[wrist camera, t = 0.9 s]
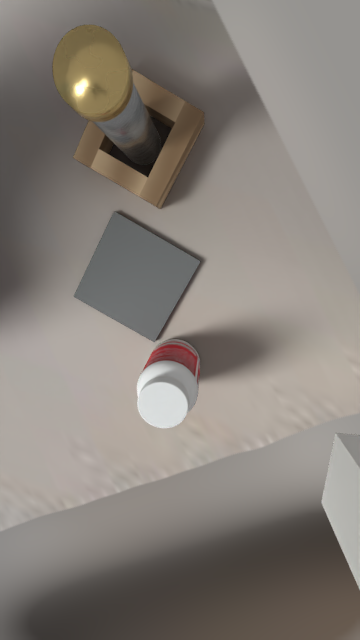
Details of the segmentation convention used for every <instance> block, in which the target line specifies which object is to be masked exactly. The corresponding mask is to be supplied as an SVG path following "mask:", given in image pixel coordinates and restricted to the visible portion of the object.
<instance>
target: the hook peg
mask: <svg viewBox="0 0 360 640" xmlns="http://www.w3.org/2000/svg"><path fill="white" fill-rule="evenodd" d="M52 67H53V78H54V82H55V85H56V88H57V90H58V92H59V94H60V95H61V97H62V98H63V99H64V100H65V102H66V103H67V104H68V105H70V106H71V107H72V108H73V109H74V110H75V111H76V112H77V113H78V114H79V115H80V116H82V117H83V118H85V119H87V120H90V121H92V122H93V123H94V124H95V125H96V126H97V127H98V128H99V129H100V130H101V131H102V132H103V133H104V134H105V135H106V136H107V137H108V138H109V139H110V140H111V141H112V142H113V143H114V144H115V145H116V146H117V147H118V148H119V149H120V150H121V151H122V152H123V153H124V154H125V155H126V156H127V157H128V158H129V159H130V160H131V161H133V162H134V163H136V164H139V165H147V164H150V163H151V162H153V161H154V160H155V159H156V158H157V157H158V155H159V153H160V150H161V139H160V136H159V134H158V132H157V129H156V127H155V125H154V123H153V121H152V119H151V117H150V115H149V113H148V111H147V109H146V107H145V105H144V103H143V101H142V99H141V97H140V95H139V93H138V91H137V89H136V87H135V85H134V83H133V74H132V70H131V67H130V64H129V62H128V60H127V58H126V55H125V53H124V51H123V49H122V47H121V45H120V43H119V42H118V40H117V39H116V38H115V37H114V36H113V35H112V34H111V33H110V32H109V31H107V30H106V29H104V28H102V27H99V26H96V25H82V26H78V27H76V28H74V29H72V30H71V31H69V32H68V33H67V34H66V35H65V36H64V37H63V38H62V39H61V41H60V42H59V44H58V46H57V48H56V50H55V54H54V58H53V66H52Z"/></svg>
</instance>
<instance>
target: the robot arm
mask: <svg viewBox="0 0 360 640" xmlns="http://www.w3.org/2000/svg"><path fill="white" fill-rule="evenodd" d="M322 505H323V507H324V510H325V511H326V514H327V516H328V519H329V521H330V523H331V525H332V528H333V530H334V532H335V535H336V537H337V539H338V541H339V543H340V546H341V548H342V550H343V553H344V555H345V557H346V560H347V561H348V564H349V566H350V569H351V571H352V573H353V575H354V578H355V580H356V582H357V584H358V587H359V589H360V435H353V434H343V433H336V434H335V439H334V443H333V448H332V453H331V458H330V463H329V468H328V473H327V478H326V482H325V487H324V492H323V498H322Z"/></svg>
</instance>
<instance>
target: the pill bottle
mask: <svg viewBox="0 0 360 640" xmlns="http://www.w3.org/2000/svg"><path fill="white" fill-rule="evenodd" d="M199 375H200V359H199V355H198V353H197V351H196V350H195V349H194V347H193V346H191V345H190V344H189V343H187V342H185V341H183V340H178V339H170V340H166V341H164V342H162V343H160V344H159V345H158V346H157V347H156V348H155V349H154V350H153V352H152V354H151V356H150V358H149V360H148V361H147V363H146V365H145V367H144V369H143V371H142V373H141V375H140V377H139V380H138V383H137V394H138V403H137V405H138V410H139V413H140V415H141V416H142V418H143V419H144V420H145V421H146V422H148V423H149V424H151V425H153V426H155V427H158V428H171V427H174V426H176V425H178V424H179V423H181V422H182V421H183V420H184V418H185V417H186V415H187V413H188V412H189V411H190V410H191V409H192V408H193V406H194V405H195V402H196V400H197V396H198V387H199Z"/></svg>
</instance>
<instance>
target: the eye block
mask: <svg viewBox="0 0 360 640" xmlns="http://www.w3.org/2000/svg"><path fill="white" fill-rule="evenodd" d="M131 70H132V74H133V83H134V85H135V87H136V89H137V91H138V93H139V95H140V97H141V99H142V101H143V103H144V105H145V107H146V109H147V111H148V113H149V115H150V116H152V117H153V118H155V119H157V120H158V121H160V122H162V123H163V124H165V125H167V126H168V127H170V128H172V130H171V132H170V134H169V136H168V138H167V140H166V142H165V144H164V146H163V148H162V150H161V152H160V154H159V156H158V158H157V160H156V162H155V164H154V166H153V168H152V170H151V172H150V174H149V177H146V176H144V175H143V174H141V173H139V172H138V171H136V170H134V169H133V168H131V167H129V166H127V165H126V164H124V163H122V162H121V161H119V160H117V159H115V158H114V157H112V156H110V155H109V153H110V151H111V149H112V147H113V144H114V143H113V142H112V141H111V140H110V139H109V138H108V137H107V136H106V135H105V134H104V133H103V132H102V131H101V130H100V129H99V128H98V127H97V126H96V125H95V124H94V123H93V122H92V121H90V120H89V121H88V123H87V126H86V128H85V130H84V133H83V135H82V137H81V140H80V142H79V145H78V147H77V149H76V152H75V154H74V156H73V158H74V159H76V160H77V161H79V162H81V163H82V164H84V165H86V166H88V167H89V168H91V169H93V170H94V171H96V172H98V173H100V174H101V175H103V176H105V177H106V178H108V179H110V180H112V181H113V182H115V183H117V184H118V185H120V186H122V187H124V188H125V189H127V190H129V191H130V192H132V193H134V194H136V195H137V196H139V197H141V198H142V199H144V200H146V201H148V202H149V203H151V204H153V205H154V206H156V207H158V208H160V209H161V207H162V205H163V203H164V201H165V199H166V197H167V195H168V194H169V192H170V190H171V188H172V186H173V184H174V182H175V180H176V178H177V176H178V174H179V172H180V170H181V168H182V166H183V164H184V162H185V160H186V158H187V157H188V155H189V153H190V151H191V149H192V147H193V145H194V143H195V141H196V139H197V137H198V135H199V133H200V131H201V129H202V127H203V125H204V112H203V111H201V110H199V109H198V108H196V107H194V106H193V105H191V104H189V103H188V102H186V101H184V100H183V99H181V98H179V97H178V96H176V95H174V94H173V93H171V92H169V91H168V90H166V89H164V88H163V87H161V86H159V85H158V84H156V83H154V82H153V81H151V80H149V79H148V78H146V77H144V76H143V75H141V74H139V73H138V72H136V71H134V70H133V69H131Z"/></svg>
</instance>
